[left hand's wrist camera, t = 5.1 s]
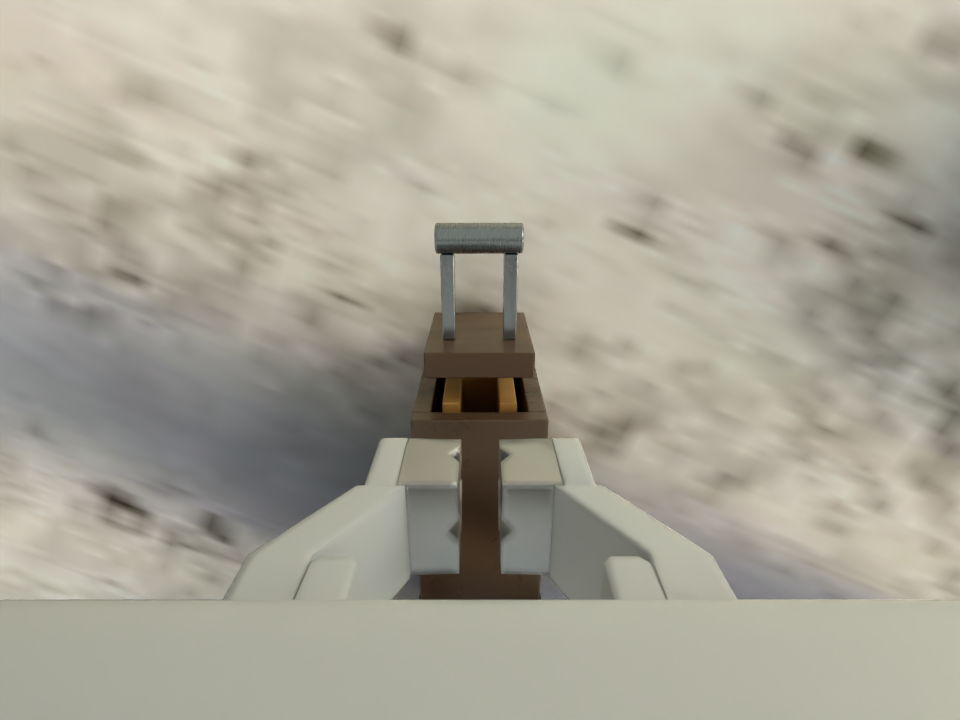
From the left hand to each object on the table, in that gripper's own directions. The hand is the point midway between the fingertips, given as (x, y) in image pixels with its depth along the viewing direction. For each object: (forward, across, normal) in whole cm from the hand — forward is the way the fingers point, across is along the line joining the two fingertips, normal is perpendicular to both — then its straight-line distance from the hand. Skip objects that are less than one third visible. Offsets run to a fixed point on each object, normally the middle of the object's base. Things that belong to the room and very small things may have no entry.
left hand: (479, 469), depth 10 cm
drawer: (+19, 0, -9) cm, 21 cm away
